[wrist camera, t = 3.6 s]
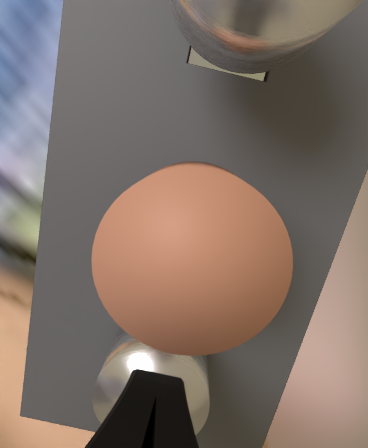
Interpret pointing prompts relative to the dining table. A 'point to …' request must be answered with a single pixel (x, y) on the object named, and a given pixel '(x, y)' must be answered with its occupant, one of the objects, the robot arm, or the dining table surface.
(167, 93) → the knob panel
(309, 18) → the near knob
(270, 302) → the middle knob
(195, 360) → the far knob
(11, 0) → the dining table surface
